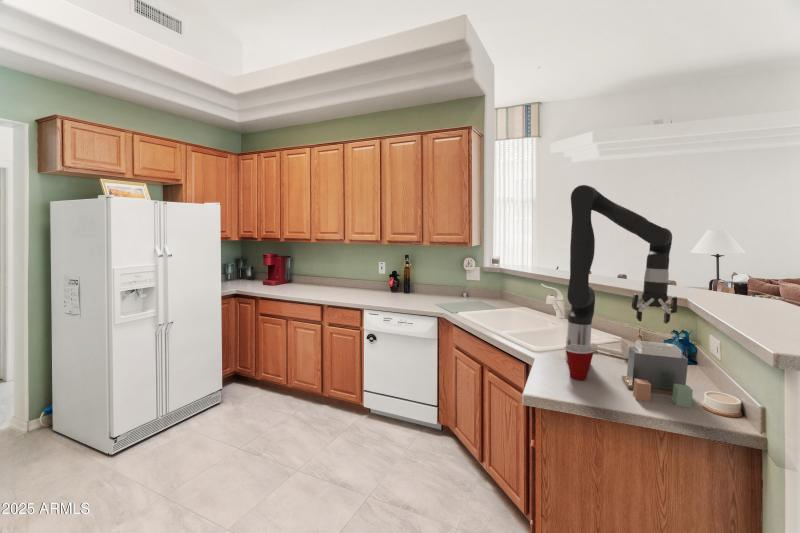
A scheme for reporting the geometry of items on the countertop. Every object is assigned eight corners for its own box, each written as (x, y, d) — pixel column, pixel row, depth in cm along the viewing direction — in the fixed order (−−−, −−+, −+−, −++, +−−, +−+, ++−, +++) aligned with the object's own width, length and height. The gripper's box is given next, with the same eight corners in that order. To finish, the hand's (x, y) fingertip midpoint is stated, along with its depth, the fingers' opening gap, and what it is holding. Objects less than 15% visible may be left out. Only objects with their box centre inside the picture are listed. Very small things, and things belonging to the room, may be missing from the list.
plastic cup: (565, 369, 152) (567, 341, 150) (595, 376, 145) (597, 346, 144) (559, 378, 143) (561, 348, 142) (590, 385, 137) (592, 354, 135)
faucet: (593, 359, 179) (587, 338, 180) (633, 356, 166) (626, 334, 167) (589, 361, 176) (584, 340, 177) (630, 358, 163) (623, 336, 164)
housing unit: (627, 388, 134) (631, 346, 132) (621, 378, 143) (624, 338, 142) (691, 397, 128) (695, 352, 126) (680, 386, 137) (684, 344, 136)
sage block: (676, 405, 122) (678, 388, 121) (672, 400, 125) (673, 383, 125) (691, 407, 120) (692, 390, 120) (686, 402, 124) (687, 385, 123)
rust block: (635, 400, 125) (637, 383, 125) (632, 395, 129) (634, 378, 129) (649, 402, 124) (651, 384, 124) (646, 397, 128) (647, 380, 127)
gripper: (637, 280, 140) (633, 322, 141) (682, 282, 135) (678, 326, 137) (632, 277, 147) (628, 318, 148) (674, 280, 142) (671, 321, 144)
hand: (652, 322), depth 143 cm, fingers open, 8 cm apart
